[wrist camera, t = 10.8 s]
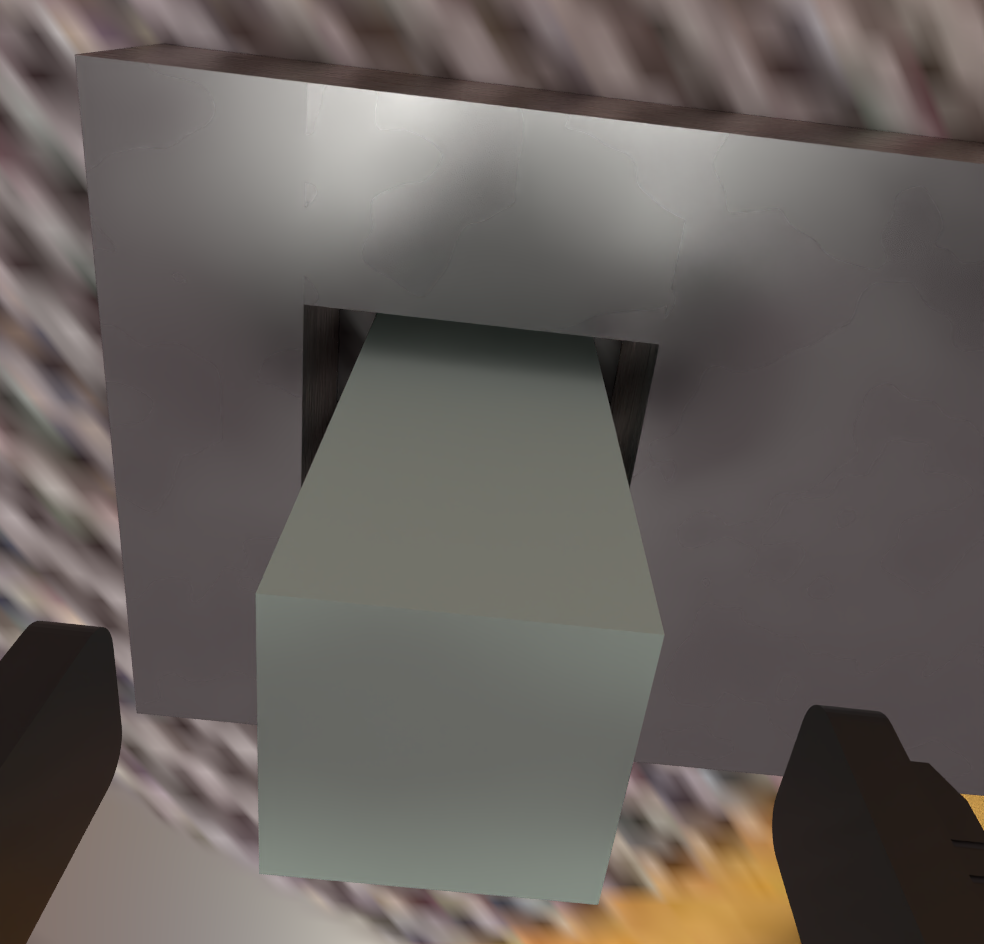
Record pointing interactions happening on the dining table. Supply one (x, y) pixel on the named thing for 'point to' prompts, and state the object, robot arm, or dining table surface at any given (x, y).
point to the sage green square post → (456, 624)
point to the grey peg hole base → (576, 311)
